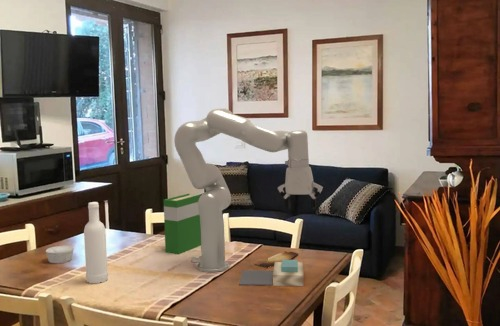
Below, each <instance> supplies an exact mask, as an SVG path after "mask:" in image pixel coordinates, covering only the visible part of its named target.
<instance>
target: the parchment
mask: <svg viewBox="0 0 500 326" xmlns="http://www.w3.org/2000/svg"><path fill="white" fill-rule="evenodd" d="M298 255H299V253H297V252H294V251H289V252H287V251H285V250H284V251H283V252H280V253H276V254H274V255H272V256H269V257H268V258H267V259H268V261H269V262H268V261H267V262H265V261H263V262H261V263H259V264H256V263H254V265H255V266H258V267H262V268H266V269H269V268H271V267H272V266H273V267H274V263H275V262H282V260H293V258H294V257H296V256H298ZM270 266H271V267H270ZM268 267H269V268H268Z"/></svg>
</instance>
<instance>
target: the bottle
mask: <svg viewBox="0 0 500 326" xmlns="http://www.w3.org/2000/svg"><path fill="white" fill-rule="evenodd" d="M87 208H88V222H87V223H86V224H85V226H84V229H83V237H84V240H83V241H84V258H85V259H84V260H85V278H86V283H88V282H89V284H91V283H97V284H101V283H100V282H102V283H105V282H107V281H108V279H109V278H108V277H109V271H108V256H107V255H108V253H107V251H108V250H107V238H106V237H107V234H106V233H107V232H106V227H105V225H104V223H103V222H101V220H100V210H99V208H100V205H99V202H98V201H92V202H91V201H90V202H88V204H87ZM106 280H107V281H106ZM104 281H105V282H104Z"/></svg>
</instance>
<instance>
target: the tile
mask: <svg viewBox="0 0 500 326" xmlns="http://www.w3.org/2000/svg"><path fill="white" fill-rule="evenodd" d="M298 262H299V260H298V259H290V260H282V265H281V272H298Z"/></svg>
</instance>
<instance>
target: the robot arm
mask: <svg viewBox="0 0 500 326" xmlns="http://www.w3.org/2000/svg"><path fill="white" fill-rule="evenodd" d="M220 134H224V135H226V136H230V137H232V138H235V139H238V140H241V142H243V143H245V144H248V145H249V146H252V147H253V148H256V149H260V150H262V151H265V152H269V153H277V152H280V151H285V150H287V157H288V159H287V160H284V165H285V166H286V165H287V166H288V167H286V171H285V183H283V184H281V185H279V186H278V187H277V190H278V192H279V195H281V196H282V197H283V199H284V200H285V201H284V203H285V204H284V205H285V208H286V210H290V209H291V208H292V202H291V197H290V196H291V195H292V196H293V195H299V196H300V195H302V196H303V195H308V196H310V197H311V199H310V204H311V206H310V207H311V208H310V209H311V211H313V210H315V209H316V208H317V198H318V197H319V196H320V194H322V193H321V192H322V191H323V188H324V187H323V186H322V185H320V184H318V183H316V182H314V176H313V171H312V168H311V166H310V162H309V148H308V147H309V141H308V138H309V137H308V132H307V131H305V130H293V131H292V130H291V131H285V130H276V131H275V130H274V131H270V130H268V129H266V128H265V129H264V128H262V127H260V126H257V125H255V124H253V122H251V120H250V119H249V118H247V117H243V116H240V115H237V114H234V113H233V111H231V110H229V109H226V108H214V109H212V110H210V111H209V112H208V113H207V115H206V117H204V118H202V119H201V120H191V121H187V122H185V123H183V124H181V125H180V126H179V127H178V128H177V130H176V132H175V135H174V141H173V142H174V147H175V151H176V152H177V155H178V157H179V158H180V160H181V163H182V165H183V168H184V170H185V172H186V174H187V177H188V180H189V181H190V183H191V185H192V186H193V188H195V189H197V190H203V189H204V190H205V192H203V193H202V194H200V195H201V196H200V198H199V201H198V210H199V215H200V227H201V246H200V250H201V251H200V252H201V256H198V257H196V256H192V257H190V262H192V264H197V269H198V270H199V271H201V272H205V273H206V272H207V273H218V272H223V271H226V270H228V269H229V268H230V264H229V262H227V261H226V247H225V246H226V244H225V243H226V242H225V240H226V239H225V221H224V216H223V215H224V214H223V211H224V210H225V209H228V207H229V206H230V205H231V202H232V195H231V192H230V189H229V187H228V185H227V183H226V180H225V178H224V177H223V174H222V172H221V170H220V169H219V167H218V166H217V165H215V164H213V163H206V160H205V158H204V156H203V153H202V151H200V149H199V148H198V146H197V144H196V143H200V142H205V141H207V140H210V139H212V138H214V137H216V136H217V135H220ZM284 188H285V191H284ZM315 188H316V189H317V191H316V192H315Z"/></svg>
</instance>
